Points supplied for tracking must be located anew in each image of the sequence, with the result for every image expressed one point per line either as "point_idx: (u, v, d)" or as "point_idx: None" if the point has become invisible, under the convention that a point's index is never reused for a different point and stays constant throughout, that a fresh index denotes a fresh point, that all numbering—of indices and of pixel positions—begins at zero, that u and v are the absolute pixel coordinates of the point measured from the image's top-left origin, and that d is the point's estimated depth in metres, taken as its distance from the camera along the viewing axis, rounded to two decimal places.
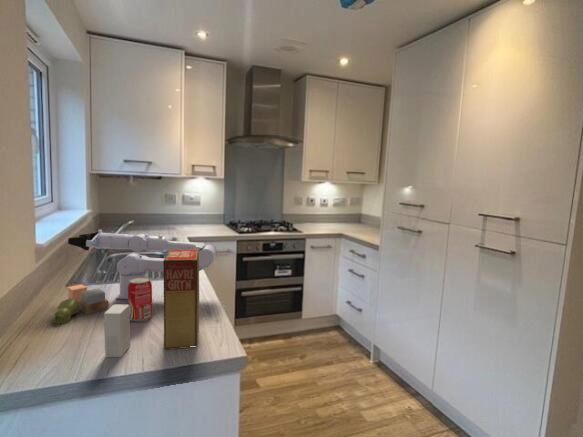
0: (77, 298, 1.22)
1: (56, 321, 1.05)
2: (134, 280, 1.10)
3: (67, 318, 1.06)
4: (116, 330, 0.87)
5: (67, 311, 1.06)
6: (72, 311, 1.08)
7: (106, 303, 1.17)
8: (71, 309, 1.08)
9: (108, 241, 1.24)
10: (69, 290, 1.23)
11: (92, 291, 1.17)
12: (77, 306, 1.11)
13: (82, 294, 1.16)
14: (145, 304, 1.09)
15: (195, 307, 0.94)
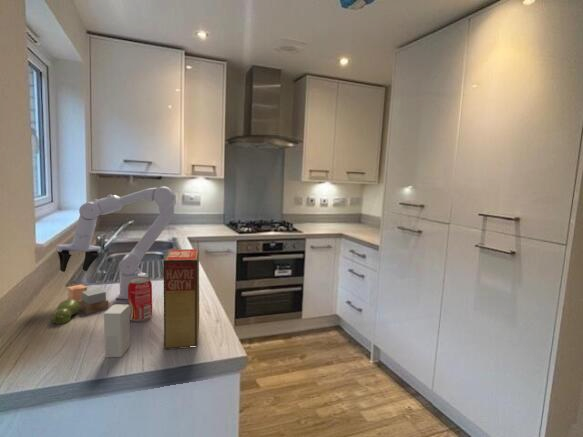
0: (77, 298, 1.22)
1: (56, 321, 1.05)
2: (134, 280, 1.10)
3: (67, 318, 1.06)
4: (116, 330, 0.87)
5: (66, 311, 1.06)
6: (72, 311, 1.08)
7: (106, 303, 1.17)
8: (71, 309, 1.08)
9: (74, 235, 1.21)
10: (69, 290, 1.23)
11: (93, 291, 1.18)
12: (77, 306, 1.11)
13: (83, 294, 1.16)
14: (145, 304, 1.09)
15: (195, 307, 0.94)
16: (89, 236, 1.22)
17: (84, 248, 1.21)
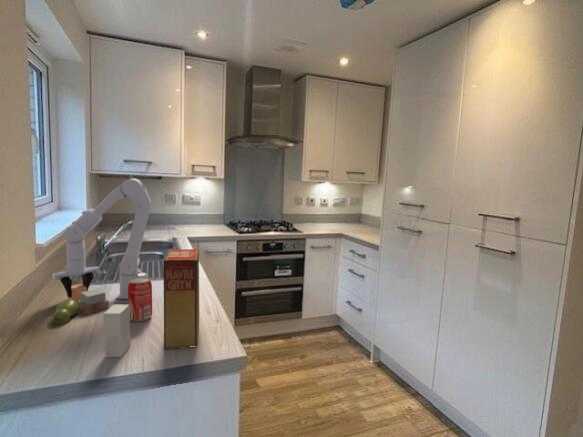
0: (77, 298, 1.22)
1: (55, 322, 1.04)
2: (134, 280, 1.10)
3: (66, 319, 1.06)
4: (116, 330, 0.87)
5: (66, 312, 1.06)
6: (71, 312, 1.08)
7: (106, 303, 1.17)
8: (70, 310, 1.08)
9: (67, 261, 1.21)
10: None
11: (92, 291, 1.17)
12: (76, 307, 1.10)
13: (82, 295, 1.16)
14: (145, 304, 1.09)
15: (195, 307, 0.94)
16: (82, 259, 1.22)
17: (79, 271, 1.21)
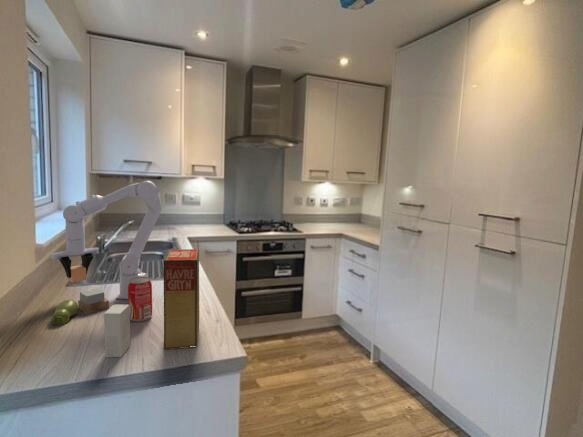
0: (76, 278, 1.22)
1: (54, 322, 1.04)
2: (134, 280, 1.10)
3: (66, 319, 1.05)
4: (116, 330, 0.87)
5: (65, 312, 1.06)
6: (71, 312, 1.08)
7: (106, 303, 1.17)
8: (70, 310, 1.07)
9: (66, 241, 1.20)
10: None
11: (91, 291, 1.17)
12: (76, 307, 1.10)
13: (81, 294, 1.16)
14: (145, 304, 1.09)
15: (195, 307, 0.94)
16: (81, 238, 1.21)
17: (78, 251, 1.20)
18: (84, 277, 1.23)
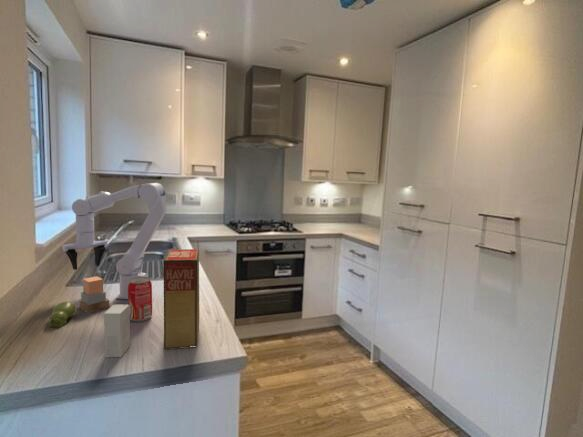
0: (93, 290, 1.15)
1: (52, 325, 1.02)
2: (134, 280, 1.10)
3: (63, 321, 1.04)
4: (116, 330, 0.87)
5: (63, 314, 1.04)
6: (68, 314, 1.06)
7: (107, 302, 1.18)
8: (67, 312, 1.06)
9: (76, 233, 1.25)
10: (84, 282, 1.16)
11: None
12: (73, 309, 1.08)
13: (82, 294, 1.16)
14: (145, 304, 1.09)
15: (195, 307, 0.94)
16: (88, 231, 1.25)
17: (88, 244, 1.25)
18: (101, 289, 1.17)
